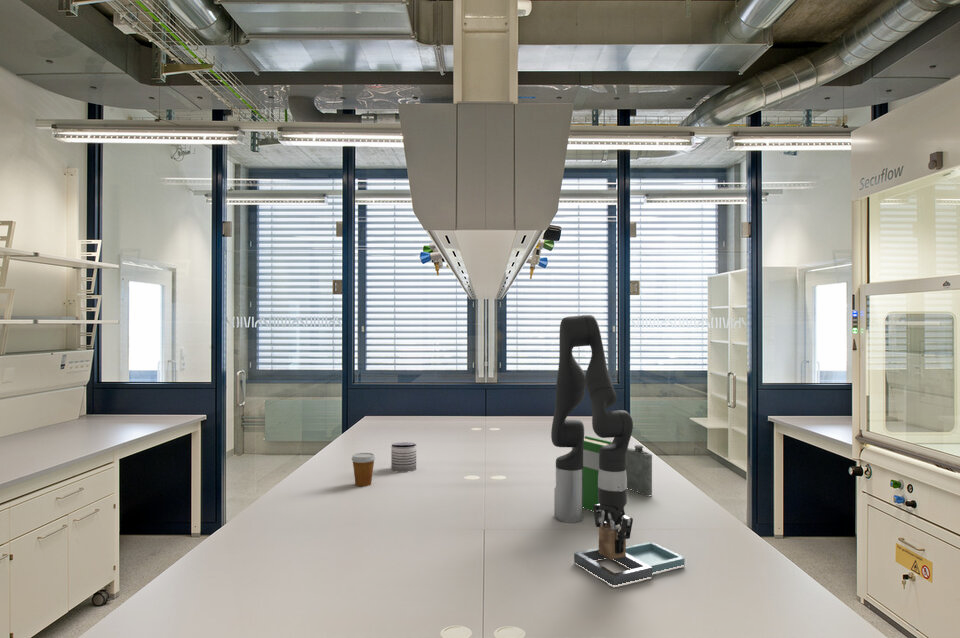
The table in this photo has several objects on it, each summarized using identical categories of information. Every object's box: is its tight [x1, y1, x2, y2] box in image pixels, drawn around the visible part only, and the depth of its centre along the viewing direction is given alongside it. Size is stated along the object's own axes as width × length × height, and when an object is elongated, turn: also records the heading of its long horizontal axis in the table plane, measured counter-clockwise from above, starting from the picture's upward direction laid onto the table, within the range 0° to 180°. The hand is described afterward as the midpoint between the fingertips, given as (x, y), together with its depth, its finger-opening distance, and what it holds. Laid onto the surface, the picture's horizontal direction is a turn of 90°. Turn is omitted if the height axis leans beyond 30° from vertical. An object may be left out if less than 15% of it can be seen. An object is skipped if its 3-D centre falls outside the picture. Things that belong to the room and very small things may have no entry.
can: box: [390, 441, 417, 473], centre depth 264 cm, size 11×11×12 cm
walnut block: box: [598, 525, 627, 561], centre depth 156 cm, size 5×5×7 cm
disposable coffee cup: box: [351, 452, 376, 487], centre depth 239 cm, size 10×10×12 cm
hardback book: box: [571, 435, 612, 512], centre depth 209 cm, size 18×7×24 cm, turn 33°
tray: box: [626, 541, 685, 573], centre depth 161 cm, size 13×13×2 cm
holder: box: [573, 547, 653, 585], centre depth 155 cm, size 17×12×3 cm
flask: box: [626, 444, 653, 496], centre depth 230 cm, size 4×14×18 cm, turn 28°
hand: (612, 549), depth 156 cm, fingers closed on walnut block, 5 cm apart
